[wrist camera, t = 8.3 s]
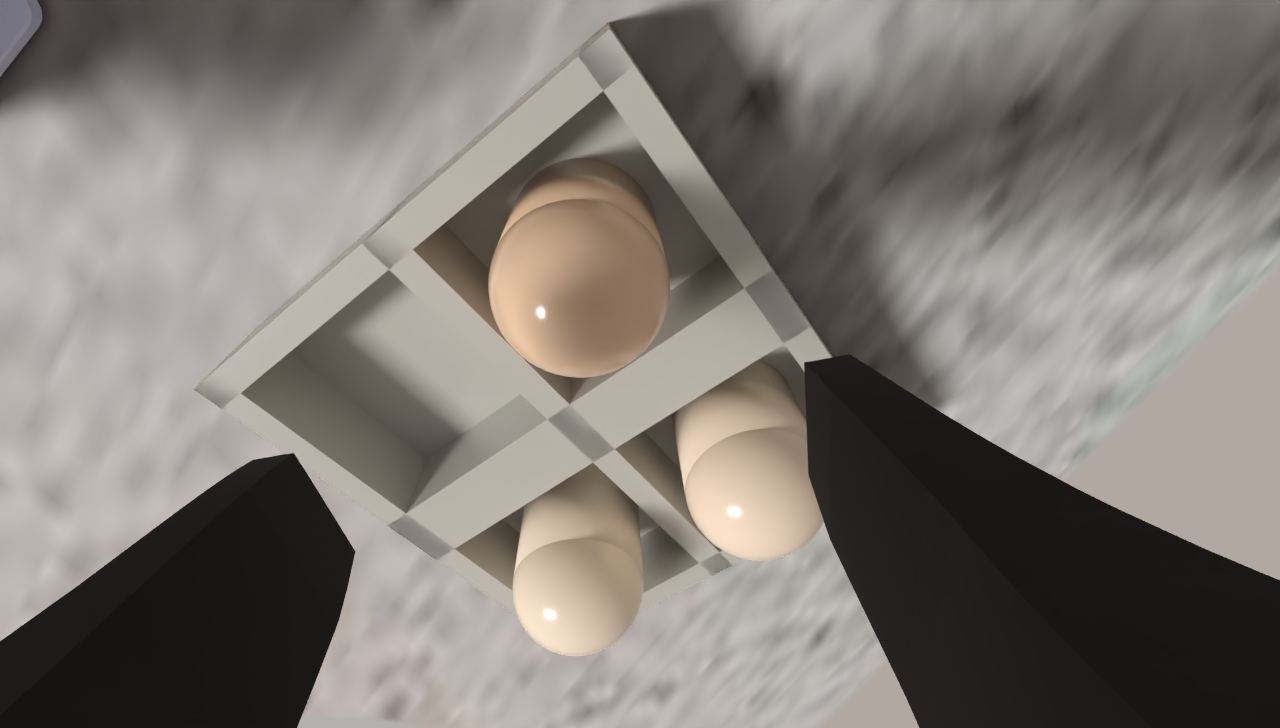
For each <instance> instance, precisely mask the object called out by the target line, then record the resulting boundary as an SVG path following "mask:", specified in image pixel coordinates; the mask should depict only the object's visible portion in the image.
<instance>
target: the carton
mask: <svg viewBox="0 0 1280 728" xmlns="http://www.w3.org/2000/svg"><path fill="white" fill-rule="evenodd" d="M570 159H593V160H599V161H602V162H606V163H609V164H611V165H613V166H616V167H618V168H619V169H621V170H623V171H624V172H626V173H627V174H628V175H630V176H631V177H632V178H633V179H634V180H635V181H636V182H637V183H638V184H639V185H640V186H641V187H642V189H643V190H644V191H645V193H646V194H647V196H648V198H649V200H650V202H651V204H652V207H653V209H654V213H655V217H656V221H657V225H658V229H659V233H660V237H661V241H662V245H663V250H664V254H665V258H666V262H667V266H668V271H669V280H670V299H669V304H668V309H667V313H666V316H665V319H664V322H663V324H662V326H661V328H660V330H659V332H658V334H657V335H656V337H655V338H654V340H653V341H652V343H651V344H650V345H649V346H648V347H647V349H646V350H645V351H644V352H643V353H642V354H640V355H639V356H638V357H637V358H636V359H634V360H633V361H632V362H630V363H629V364H627V365H625V366H624V367H622V368H620V369H618V370H616V371H613V372H610V373H608V374H604V375H600V376H595V377H586V378H575V377H566V376H561V375H556V374H553V373H550V372H547V371H545V370H543V369H541V368H538V367H536V366H535V365H533V364H532V363H530V362H528V361H527V360H526V359H524V358H523V357H522V356H521V355H520V354H519V353H518V352H517V351H516V350H515V349H514V348H513V347H512V346H511V345H510V344H509V343H508V342H507V340H506V339H505V338H504V336H503V334H502V333H501V331H500V329H499V327H498V325H497V323H496V321H495V318H494V316H493V313H492V309H491V305H490V299H489V290H488V281H489V272H490V266H491V262H492V258H493V255H494V252H495V250H496V247H497V245H498V242H499V240H500V237H501V235H502V233H503V230H504V228H505V225H506V223H507V220H508V218H509V216H510V213H511V211H512V208H513V206H514V203H515V201H516V199H517V197H518V195H519V193H520V191H521V190H522V189H523V187H524V186H525V184H526V183H527V182H528V181H529V180H530V179H531V178H532V177H533V176H534V175H536V174H537V173H538V172H539V171H541V170H543V169H544V168H546V167H548V166H550V165H552V164H555V163H557V162H561V161H565V160H570ZM832 357H833V356H832V354H831V353H830V351H829V350H828V348H827V347H826V345H825V344H824V342H823V341H822V339H821V338H820V336H819V335H818V333H817V332H816V331H815V329H814V328H813V326H812V325H811V323H810V322H809V320H808V319H807V317H806V316H805V314H804V313H803V311H802V310H801V308H800V307H799V305H798V304H797V302H796V301H795V299H794V298H793V296H792V295H791V293H790V292H789V290H788V289H787V287H786V286H785V284H784V283H783V281H782V280H781V278H780V277H779V275H778V274H777V273H776V271H775V270H774V268H773V267H772V265H771V264H770V262H769V261H768V259H767V258H766V256H765V255H764V253H763V252H762V250H761V249H760V247H759V246H758V244H757V243H756V241H755V240H754V238H753V237H752V235H751V234H750V232H749V231H748V229H747V228H746V226H745V225H744V223H743V222H742V220H741V219H740V217H739V216H738V215H737V213H736V212H735V210H734V209H733V207H732V206H731V204H730V203H729V201H728V200H727V198H726V197H725V195H724V194H723V192H722V191H721V189H720V188H719V186H718V185H717V183H716V182H715V180H714V179H713V177H712V176H711V174H710V173H709V171H708V170H707V168H706V167H705V165H704V164H703V162H702V161H701V159H700V158H699V157H698V155H697V154H696V152H695V151H694V149H693V148H692V146H691V145H690V143H689V142H688V140H687V139H686V137H685V136H684V134H683V133H682V131H681V130H680V128H679V127H678V125H677V124H676V122H675V121H674V119H673V118H672V116H671V115H670V113H669V112H668V110H667V109H666V107H665V106H664V104H663V103H662V101H661V100H660V99H659V97H658V96H657V94H656V93H655V91H654V90H653V88H652V87H651V85H650V84H649V82H648V81H647V79H646V78H645V76H644V75H643V73H642V72H641V70H640V69H639V67H638V66H637V64H636V63H635V61H634V60H633V58H632V57H631V55H630V54H629V52H628V51H627V49H626V48H625V46H624V45H623V43H622V42H621V41H620V39H619V38H618V36H617V35H616V33H615V32H614V30H613V29H612V27H611V26H610V24H609V23H607V24H606V25H605V26H604V27H603V28H601V29H600V30H599V31H598V32H597V33H596V34H595V35H593V36H592V37H591V38H590V39H589V40H588V41H587V42H585V43H584V44H583V45H582V46H581V47H580V48H578V49H577V50H576V51H575V52H574V53H573V54H572V55H570V56H569V57H568V58H567V59H566V60H565V61H564V62H562V63H561V64H560V65H559V66H558V67H557V68H555V69H554V70H553V71H552V72H551V73H550V74H549V75H547V76H546V77H545V78H544V79H543V80H542V81H541V82H539V83H538V84H537V85H536V86H535V87H534V88H533V89H531V90H530V91H529V92H528V93H527V94H526V95H524V96H523V97H522V98H521V99H520V100H519V101H518V102H516V103H515V104H514V105H513V106H512V107H511V108H510V109H508V110H507V111H506V112H505V113H504V114H503V115H501V116H500V117H499V118H498V119H497V120H496V121H495V122H493V123H492V124H491V125H490V126H489V127H488V128H487V129H485V130H484V131H483V132H482V133H481V134H480V135H479V136H477V137H476V138H475V139H474V140H473V141H472V142H470V143H469V144H468V145H467V146H466V147H465V148H464V149H462V150H461V151H460V152H459V153H458V154H457V155H456V156H454V157H453V158H452V159H451V160H450V161H449V162H447V163H446V164H445V165H444V166H443V167H442V168H441V169H439V170H438V171H437V172H436V173H435V174H434V175H433V176H431V177H430V178H429V179H428V180H427V181H426V182H424V183H423V184H422V185H421V186H420V187H419V188H418V189H416V190H415V191H414V192H413V193H412V194H411V195H410V196H408V197H407V198H406V199H405V200H404V201H403V202H402V203H400V204H399V205H398V206H397V207H396V208H395V209H393V210H392V211H391V212H390V213H389V214H388V215H387V216H385V217H384V218H383V219H382V220H381V221H380V222H379V223H377V224H376V225H375V226H374V227H373V228H372V229H370V230H369V231H368V232H367V233H366V234H365V235H364V236H362V237H361V238H360V239H359V240H358V241H357V242H356V243H354V244H353V245H352V246H351V247H350V248H349V249H348V250H346V251H345V252H344V253H343V254H342V255H341V256H339V257H338V258H337V259H336V260H335V261H334V262H333V263H331V264H330V265H329V266H328V267H327V268H326V269H325V270H323V271H322V272H321V273H320V274H319V275H318V276H316V277H315V278H314V279H313V280H312V281H311V282H310V283H308V284H307V285H306V286H305V287H304V288H303V289H302V290H300V291H299V292H298V293H297V294H296V295H295V296H294V297H292V298H291V299H290V300H289V301H288V302H287V303H285V304H284V305H283V306H282V307H281V308H280V309H279V310H277V311H276V312H275V313H274V314H273V315H272V316H271V317H269V318H268V319H267V320H266V321H265V322H264V323H262V324H261V325H260V326H259V327H258V328H257V329H256V330H254V331H253V332H252V333H251V334H250V335H249V336H248V337H247V338H246V339H245V340H244V341H243V342H242V343H241V344H240V345H239V346H238V347H237V348H236V349H235V350H233V351H232V352H231V353H230V354H229V355H228V356H227V357H226V358H225V359H224V360H223V361H222V362H221V363H220V364H219V365H218V366H217V367H216V368H215V369H214V370H213V371H212V372H211V373H210V374H209V375H208V376H207V377H206V378H205V379H204V380H203V381H202V382H201V383H199V384H198V385H197V386H196V387H195V388H194V390H195V391H197V392H198V393H200V394H201V395H203V396H204V397H205V398H207V399H208V400H210V401H211V402H212V403H214V404H215V405H217V406H218V407H220V408H221V409H222V410H224V411H225V412H227V413H228V414H230V415H231V416H232V417H234V418H235V419H237V420H238V421H240V422H241V423H242V424H244V425H245V426H247V427H248V428H249V429H251V430H252V431H254V432H255V433H257V434H258V435H259V436H261V437H262V438H264V439H265V440H267V441H268V442H269V443H271V444H272V445H274V446H275V447H276V448H278V449H279V450H281V451H282V452H284V453H285V454H290V453H294V454H295V455H296V457H297V459H298V460H299V462H300V463H301V465H302V466H303V467H305V468H306V469H308V470H309V471H311V472H312V473H313V474H315V475H316V476H318V477H319V478H321V479H322V480H323V481H325V482H326V483H328V484H329V485H331V486H332V487H333V488H335V489H336V490H338V491H339V492H340V493H342V494H343V495H345V496H346V497H348V498H349V499H350V500H352V501H353V502H355V503H356V504H358V505H359V506H360V507H362V508H363V509H365V510H366V511H367V512H369V513H370V514H372V515H373V516H375V517H376V518H377V519H379V520H380V521H382V522H383V523H385V524H386V525H387V526H389V527H390V528H392V529H393V530H395V531H396V532H397V533H399V534H400V535H402V536H403V537H404V538H406V539H407V540H409V541H410V542H412V543H413V544H414V545H416V546H417V547H419V548H420V549H422V550H423V551H424V552H426V553H427V554H429V555H430V556H431V557H433V558H434V559H436V560H437V561H439V562H440V563H441V564H443V565H444V566H446V567H447V568H449V569H450V570H451V571H453V572H454V573H456V574H457V575H458V576H460V577H461V578H463V579H464V580H466V581H467V582H468V583H470V584H471V585H473V586H474V587H476V588H477V589H478V590H480V591H481V592H483V593H484V594H486V595H487V596H488V597H490V598H491V599H493V600H494V601H495V602H497V603H498V604H500V605H501V606H503V607H504V608H505V609H507V610H508V611H510V612H511V613H513V614H514V615H515V616H517V617H518V615H517V613H516V609H515V606H514V601H513V578H514V571H515V564H516V558H517V551H518V545H519V538H520V531H521V525H522V518H523V512H524V505H526V504H527V503H529V502H531V501H532V500H534V499H535V498H537V497H539V496H540V495H542V494H543V493H545V492H547V491H548V490H550V489H551V488H553V487H555V486H556V485H558V484H559V483H561V482H563V481H564V480H566V479H567V478H569V477H571V476H572V475H574V474H575V473H577V472H579V471H580V470H582V469H584V468H585V467H587V466H588V465H590V464H592V463H594V464H595V465H596V466H597V467H598V468H599V469H600V470H601V471H602V472H603V473H605V474H606V475H607V476H608V477H609V478H610V479H611V480H612V481H613V482H614V483H615V484H616V485H617V486H618V487H619V488H620V489H621V490H622V491H624V492H625V493H626V494H627V495H628V496H629V497H630V498H631V499H632V500H633V501H634V502H635V503H636V504H637V505H638V511H639V525H640V539H641V554H642V568H643V596H642V602H641V605H640V608H639V611H638V614H640V613H641V612H643V611H645V610H647V609H649V608H651V607H653V606H655V605H657V604H659V603H661V602H663V601H664V600H666V599H668V598H670V597H672V596H674V595H676V594H678V593H680V592H682V591H684V590H686V589H687V588H689V587H691V586H693V585H695V584H697V583H699V582H701V581H703V580H705V579H707V578H709V577H710V576H712V575H714V574H716V573H718V572H720V571H722V570H724V569H726V568H728V567H730V566H732V565H733V564H735V563H737V562H739V561H741V560H743V559H742V558H739V557H736V556H733V555H731V554H728V553H726V552H724V551H723V550H721V549H720V548H718V547H717V546H715V545H714V544H713V543H712V542H710V541H709V540H708V539H707V538H706V537H705V536H704V535H703V533H702V532H701V531H700V530H699V528H698V527H697V525H696V524H695V522H694V520H693V518H692V516H691V514H690V511H689V509H688V505H687V502H686V496H685V491H684V485H683V479H682V473H681V467H680V461H679V455H678V449H677V443H676V437H675V431H674V425H673V419H672V413H673V412H675V411H677V410H678V409H680V408H681V407H683V406H685V405H686V404H688V403H689V402H691V401H693V400H694V399H696V398H697V397H699V396H701V395H702V394H704V393H705V392H707V391H709V390H710V389H712V388H713V387H715V386H717V385H718V384H720V383H722V382H723V381H725V380H726V379H728V378H730V377H731V376H733V375H734V374H736V373H738V372H739V371H741V370H742V369H744V368H746V367H747V366H749V365H750V364H752V363H754V362H755V361H761V362H764V363H766V364H768V365H770V366H772V367H773V368H775V369H776V370H777V371H779V372H780V373H781V374H782V375H783V376H784V378H785V379H786V381H787V382H788V384H789V386H790V388H791V390H792V392H793V394H794V396H795V398H796V400H797V403H798V405H799V407H800V409H801V411H802V413H803V415H804V417H805V419H806V400H805V374H804V362H810V361H815V360H821V359H826V358H832ZM638 614H637V615H638Z"/></svg>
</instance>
